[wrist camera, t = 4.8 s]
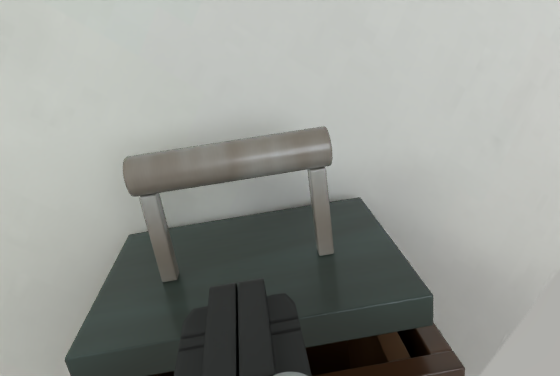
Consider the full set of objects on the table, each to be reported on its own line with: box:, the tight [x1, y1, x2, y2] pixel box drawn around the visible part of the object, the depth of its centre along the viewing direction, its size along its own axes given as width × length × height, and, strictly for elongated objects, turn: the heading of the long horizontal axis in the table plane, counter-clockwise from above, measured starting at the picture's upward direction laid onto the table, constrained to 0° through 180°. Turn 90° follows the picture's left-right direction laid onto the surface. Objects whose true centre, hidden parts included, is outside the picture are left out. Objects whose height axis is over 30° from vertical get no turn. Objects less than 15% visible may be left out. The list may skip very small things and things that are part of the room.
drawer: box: [65, 127, 433, 376], centre depth 18 cm, size 18×11×8 cm, turn 7°
